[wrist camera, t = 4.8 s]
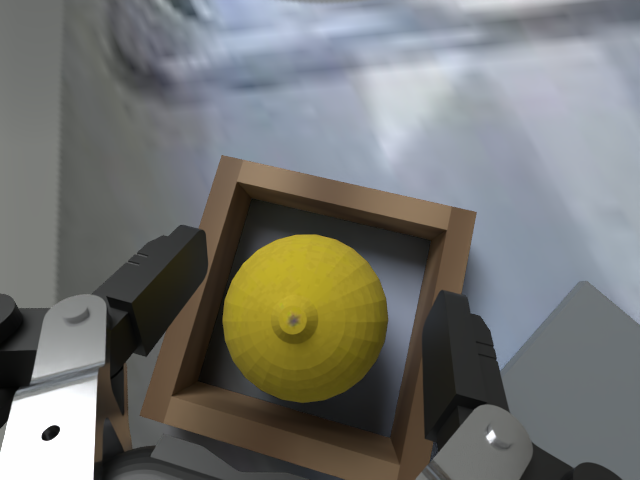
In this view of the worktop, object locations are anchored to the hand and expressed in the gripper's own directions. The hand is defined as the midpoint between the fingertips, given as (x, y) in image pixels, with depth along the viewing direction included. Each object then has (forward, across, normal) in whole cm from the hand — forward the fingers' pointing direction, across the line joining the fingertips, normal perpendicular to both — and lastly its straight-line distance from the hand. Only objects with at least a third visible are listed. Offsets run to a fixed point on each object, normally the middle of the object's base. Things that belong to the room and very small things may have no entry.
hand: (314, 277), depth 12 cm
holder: (+3, 0, +4) cm, 5 cm away
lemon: (+3, 0, +4) cm, 5 cm away
